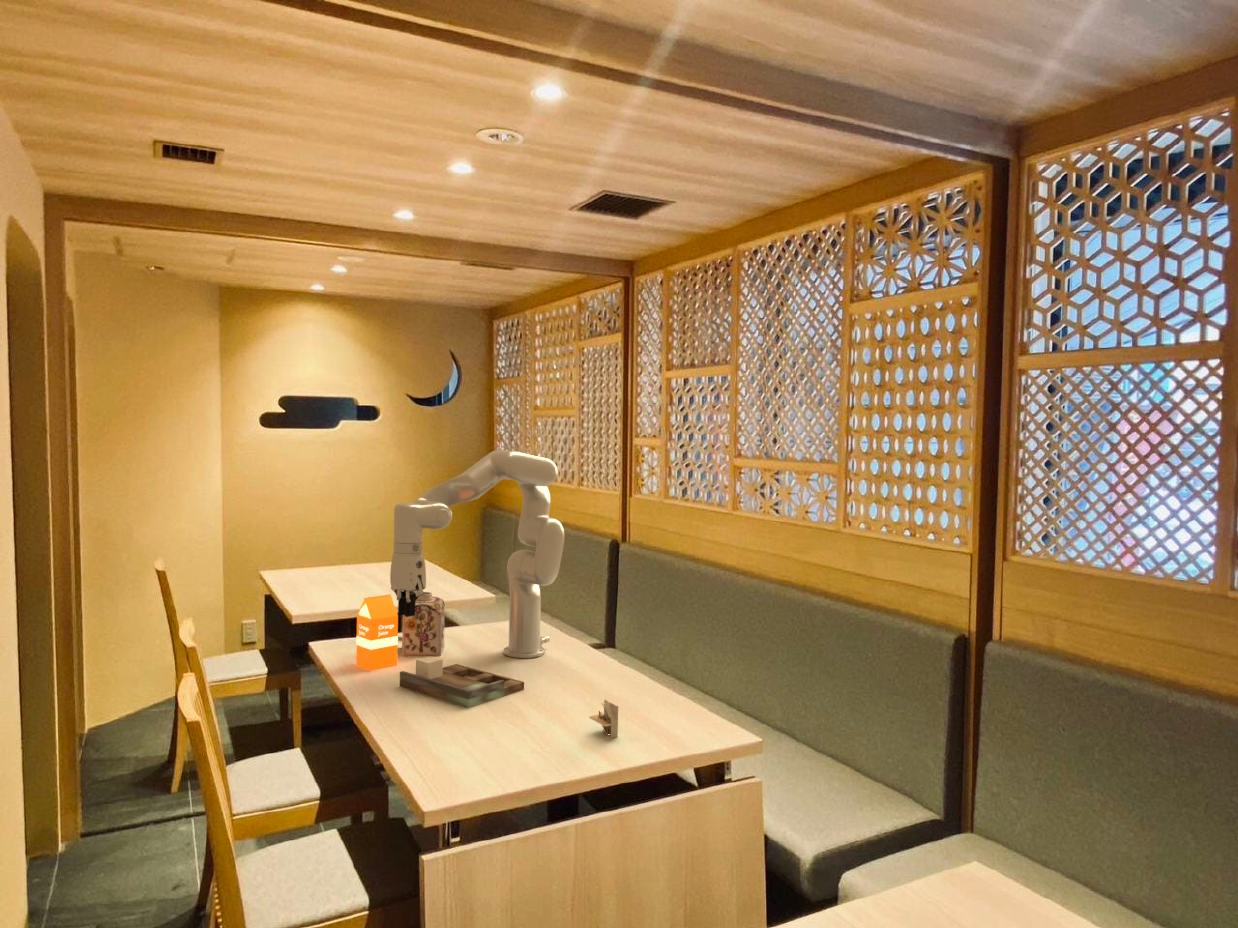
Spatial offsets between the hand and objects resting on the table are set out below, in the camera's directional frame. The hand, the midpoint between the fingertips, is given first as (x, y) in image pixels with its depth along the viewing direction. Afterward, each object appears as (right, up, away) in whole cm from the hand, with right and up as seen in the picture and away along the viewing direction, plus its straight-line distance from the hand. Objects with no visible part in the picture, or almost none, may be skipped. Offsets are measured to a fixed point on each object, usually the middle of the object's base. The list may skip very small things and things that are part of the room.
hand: (406, 614), depth 241 cm
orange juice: (-11, -17, +11) cm, 23 cm away
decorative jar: (-2, -16, +28) cm, 32 cm away
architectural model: (+55, -21, -39) cm, 71 cm away
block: (+7, -16, -5) cm, 18 cm away
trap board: (+17, -18, -8) cm, 26 cm away
